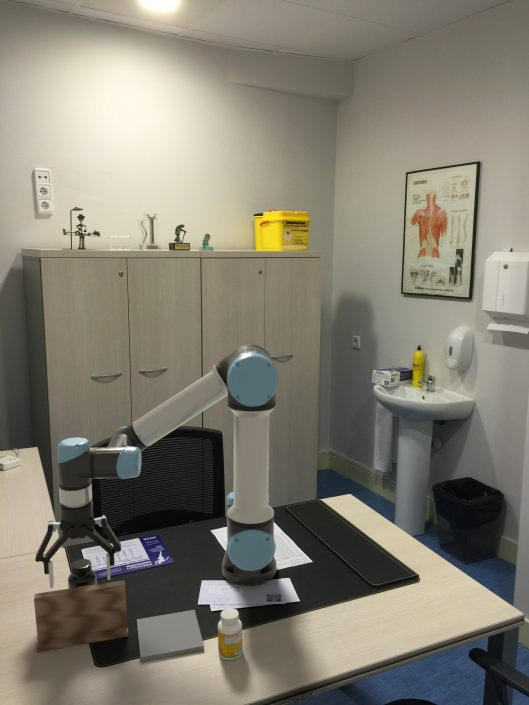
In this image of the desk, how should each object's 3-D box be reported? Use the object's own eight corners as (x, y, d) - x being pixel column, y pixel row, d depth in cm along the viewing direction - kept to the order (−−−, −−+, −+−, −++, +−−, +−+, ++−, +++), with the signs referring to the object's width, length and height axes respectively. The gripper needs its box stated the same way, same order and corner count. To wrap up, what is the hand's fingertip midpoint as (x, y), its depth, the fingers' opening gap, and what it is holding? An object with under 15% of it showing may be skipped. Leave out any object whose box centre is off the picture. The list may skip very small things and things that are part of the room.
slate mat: (194, 613, 149) (194, 609, 149) (204, 649, 136) (203, 645, 136) (136, 623, 146) (136, 619, 146) (140, 661, 132) (140, 657, 132)
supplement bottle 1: (90, 617, 148) (87, 572, 146) (64, 614, 150) (61, 569, 148) (103, 600, 155) (100, 557, 153) (78, 598, 156) (75, 555, 154)
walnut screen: (127, 620, 147) (124, 575, 144) (128, 636, 141) (125, 589, 139) (39, 635, 142) (35, 589, 139) (37, 652, 136) (32, 603, 134)
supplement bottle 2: (218, 645, 137) (217, 606, 136) (242, 644, 138) (241, 605, 136) (218, 661, 132) (217, 621, 130) (243, 660, 133) (242, 620, 131)
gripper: (128, 490, 154) (131, 566, 158) (23, 500, 147) (29, 579, 151) (129, 502, 147) (132, 582, 151) (19, 513, 140) (25, 596, 144)
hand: (80, 581), depth 151 cm, fingers open, 13 cm apart
